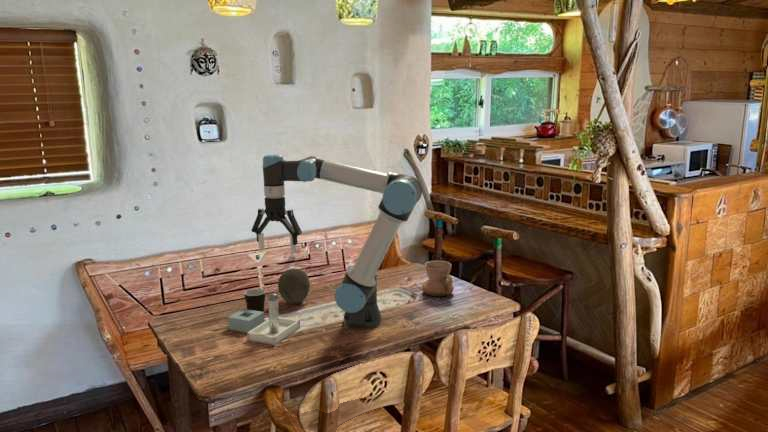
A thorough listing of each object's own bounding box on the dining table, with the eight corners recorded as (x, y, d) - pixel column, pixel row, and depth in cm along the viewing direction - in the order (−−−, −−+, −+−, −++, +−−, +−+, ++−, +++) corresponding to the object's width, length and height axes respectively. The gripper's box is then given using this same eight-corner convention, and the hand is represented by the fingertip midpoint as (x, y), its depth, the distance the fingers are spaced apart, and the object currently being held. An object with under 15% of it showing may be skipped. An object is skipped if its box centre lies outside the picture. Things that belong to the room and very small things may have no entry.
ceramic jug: (414, 291, 275) (414, 261, 272) (439, 285, 282) (440, 257, 279) (436, 303, 260) (437, 272, 257) (463, 297, 267) (463, 267, 264)
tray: (300, 327, 232) (299, 320, 231) (274, 345, 216) (274, 337, 215) (274, 323, 236) (273, 316, 236) (247, 340, 220) (246, 332, 220)
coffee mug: (261, 319, 240) (260, 296, 238) (241, 318, 242) (240, 295, 240) (272, 309, 251) (271, 287, 249) (253, 308, 253) (252, 286, 251)
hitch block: (264, 323, 236) (264, 312, 235) (250, 333, 227) (249, 320, 226) (243, 320, 240) (243, 308, 239) (228, 329, 231) (227, 317, 230)
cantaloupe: (316, 303, 258) (315, 270, 255) (286, 310, 250) (285, 276, 247) (301, 294, 270) (300, 263, 267) (273, 301, 262) (271, 268, 259)
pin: (281, 330, 227) (279, 293, 224) (275, 334, 224) (274, 296, 221) (273, 329, 228) (271, 292, 225) (267, 332, 225) (266, 295, 222)
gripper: (240, 196, 221) (243, 251, 226) (299, 199, 213) (302, 256, 217) (251, 193, 228) (254, 246, 233) (309, 196, 220) (311, 251, 224)
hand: (277, 251), depth 225 cm, fingers open, 13 cm apart
